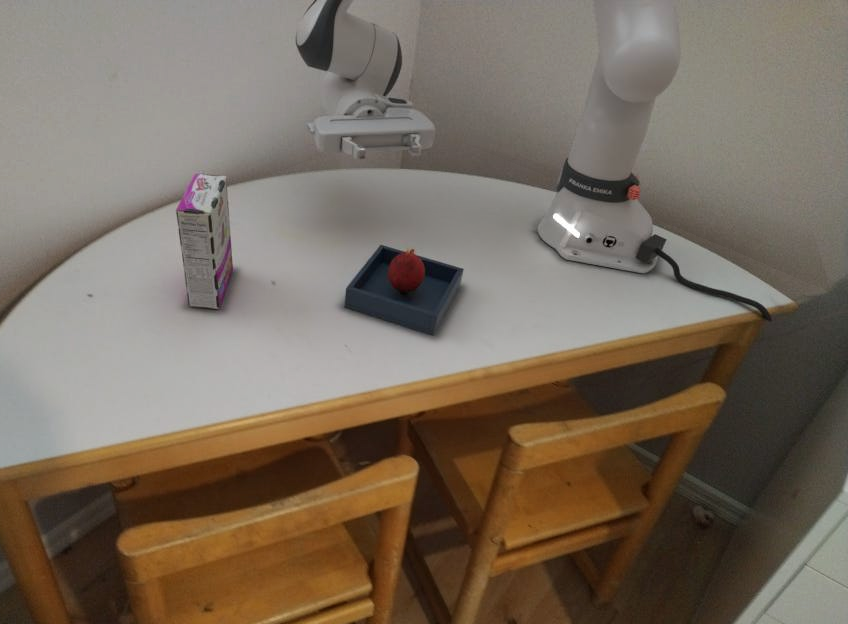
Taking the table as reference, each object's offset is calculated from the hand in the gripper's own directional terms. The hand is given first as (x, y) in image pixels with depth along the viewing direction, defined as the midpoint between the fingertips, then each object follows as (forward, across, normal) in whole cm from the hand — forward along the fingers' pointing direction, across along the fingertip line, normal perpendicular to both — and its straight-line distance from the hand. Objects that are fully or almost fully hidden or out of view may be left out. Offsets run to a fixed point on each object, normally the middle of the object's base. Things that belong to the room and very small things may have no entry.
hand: (389, 153), depth 101 cm
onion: (+14, -1, +17) cm, 22 cm away
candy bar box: (+6, -30, +18) cm, 35 cm away
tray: (+14, 0, +18) cm, 23 cm away
